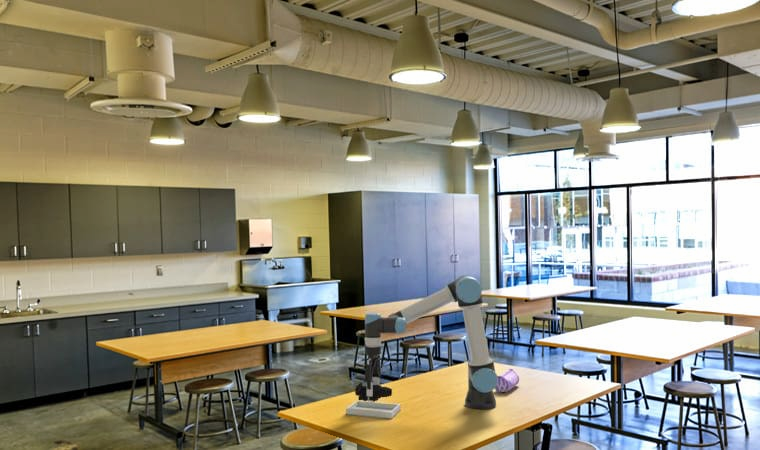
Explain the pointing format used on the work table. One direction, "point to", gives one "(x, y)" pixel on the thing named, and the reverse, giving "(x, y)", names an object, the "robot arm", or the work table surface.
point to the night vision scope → (377, 392)
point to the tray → (373, 409)
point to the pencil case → (507, 381)
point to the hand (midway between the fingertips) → (373, 393)
